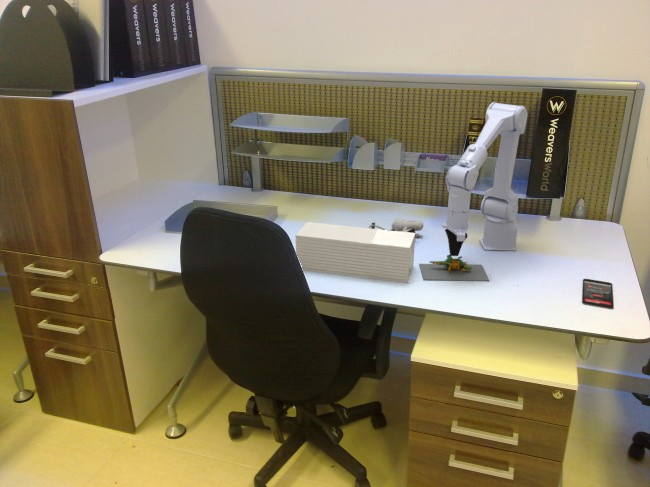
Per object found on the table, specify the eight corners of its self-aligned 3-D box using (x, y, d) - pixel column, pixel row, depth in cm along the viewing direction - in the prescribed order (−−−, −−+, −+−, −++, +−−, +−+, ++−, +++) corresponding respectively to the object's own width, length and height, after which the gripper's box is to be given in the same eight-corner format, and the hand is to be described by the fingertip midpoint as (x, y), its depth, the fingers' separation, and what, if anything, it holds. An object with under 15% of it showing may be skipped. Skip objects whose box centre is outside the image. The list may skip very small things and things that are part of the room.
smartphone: (582, 303, 145) (583, 278, 158) (581, 305, 145) (582, 280, 158) (613, 308, 142) (612, 282, 155) (613, 311, 143) (611, 285, 155)
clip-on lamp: (363, 246, 187) (414, 245, 177) (359, 228, 185) (410, 226, 175) (378, 230, 196) (427, 229, 186) (374, 213, 194) (424, 211, 184)
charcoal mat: (481, 265, 166) (481, 264, 166) (489, 281, 157) (489, 280, 157) (419, 264, 167) (419, 263, 167) (423, 280, 158) (423, 279, 157)
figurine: (470, 265, 166) (471, 278, 159) (429, 259, 168) (427, 272, 161) (472, 256, 165) (473, 269, 158) (430, 249, 167) (429, 262, 159)
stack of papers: (413, 267, 166) (415, 233, 161) (407, 283, 156) (409, 247, 152) (307, 254, 174) (307, 221, 170) (296, 269, 164) (295, 235, 160)
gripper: (439, 200, 162) (436, 244, 168) (447, 218, 149) (443, 266, 154) (464, 200, 162) (460, 244, 167) (475, 219, 149) (469, 266, 154)
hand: (454, 255), depth 161 cm, fingers closed
